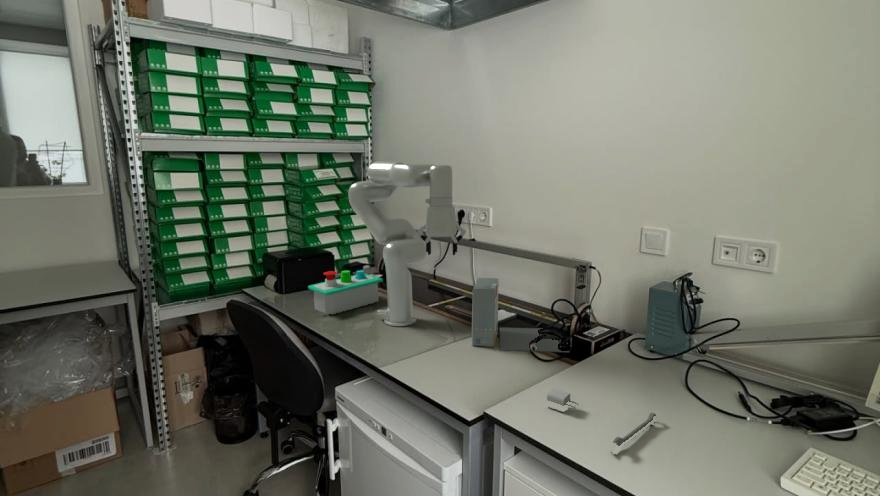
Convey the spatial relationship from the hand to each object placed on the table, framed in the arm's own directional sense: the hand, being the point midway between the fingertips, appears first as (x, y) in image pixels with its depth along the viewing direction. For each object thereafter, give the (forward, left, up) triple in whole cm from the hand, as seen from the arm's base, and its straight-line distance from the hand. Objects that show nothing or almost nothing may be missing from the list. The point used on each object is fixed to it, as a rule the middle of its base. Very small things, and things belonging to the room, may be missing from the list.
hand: (441, 253), depth 158 cm
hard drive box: (+15, 0, -30) cm, 34 cm away
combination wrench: (+49, -56, -30) cm, 80 cm away
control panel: (-45, +32, -30) cm, 63 cm away
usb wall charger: (+35, -45, -30) cm, 64 cm away
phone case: (+19, +20, -31) cm, 41 cm away
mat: (+31, 0, -30) cm, 43 cm away
